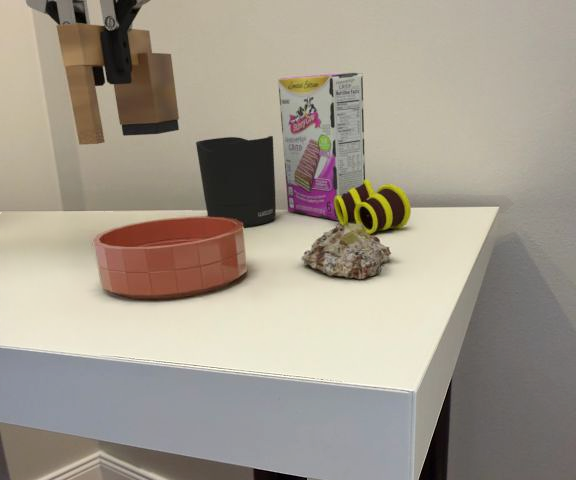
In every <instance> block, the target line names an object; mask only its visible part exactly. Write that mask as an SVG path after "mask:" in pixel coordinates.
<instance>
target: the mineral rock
mask: <svg viewBox="0 0 576 480" xmlns="http://www.w3.org/2000/svg"><path fill="white" fill-rule="evenodd" d="M310 246H311V247H310V248H311V249H307V250H305V251H304V252H303V255H302V256H301V261H303V264H304V265H307V266H310V267H311V268H312V269H314V270H320V271H321V273H323V274H327V275H328V276H330V277H331V276H334V277H335V276H336V277H345V278H347V279H353V278H354V279H357V280H364V279H366V278H367V277H372V276H376V275H378V274H380V271H381V270H382V267H381V265H382V264H385V263H387V262H388V260H389V258H390V256H391V254H392V252H391V249H390V246H385V245H384V244H382V243H381V240H380V239H379V237H378V236H373V235H371V234H369V233H367V232H366V230H365V228H364V227H363V226H362V224H358V223H355V222H353V223H350V222H349V223H348V224H347V225H341V224H339V225H338V226H337V225H336V226H335V227H333V229H330V230H328V231H325V232H323V234H322V235H321V236H320V237H318V238H317V239H316V240H315V241H314V242H313V243H312V244H311V245H310Z"/></svg>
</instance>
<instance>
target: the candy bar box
mask: <svg viewBox="0 0 576 480" xmlns="http://www.w3.org/2000/svg"><path fill="white" fill-rule="evenodd" d="M363 75H364V74H363V72H344V73H343V72H342V73H327V74H312V75H299V76H291V77H282V78H278V79H277V82H278V93H279V94H278V96H279V108H280V109H279V110H280V121H281V123H280V124H281V135H282V144H283V160H284V174H285V185H286V200H287V202H286V203H287V211H288V212H292V213H298V214H301V215H306V216H307V215H308V216H312V217H317V218H322V219H328V220H334V221H339V219H338V217H337V214H336V210H335V206H334V197H335V196H338V195H339V196H342V195H343V194H344V193H345V194H346V193H347V191H348V190H350V189H352V188H357V187H359V186H361V185H362V184H363V181H364V180H366V165H365V164H366V163H365V162H366V161H365V158H366V157H365V125H364V124H365V121H364V119H365V118H364V84H363V83H364V82H363V81H364V80H363Z"/></svg>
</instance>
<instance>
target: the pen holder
mask: <svg viewBox="0 0 576 480" xmlns="http://www.w3.org/2000/svg"><path fill="white" fill-rule="evenodd" d="M195 146H196V151H197V158H198V166H199V170H200V178H201V183H202V190H203V197H204V203H205V208H206V214H207V217H208V216H209V217H225V218H231V219H236V220H238V221H240V222H242V223H243V226H244V228H248V227H255V226H260V225H266V224H268V223H271V222H272V221H274V220H275V218H276V216H277V205H276V177H275V176H276V175H275V156H274V155H275V154H274V136H273V135H269V136H266V137H263V138H257V139H247V138H242V137H237V136H226V137H217V138H209V139H203V140H198V141H196V142H195Z"/></svg>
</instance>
